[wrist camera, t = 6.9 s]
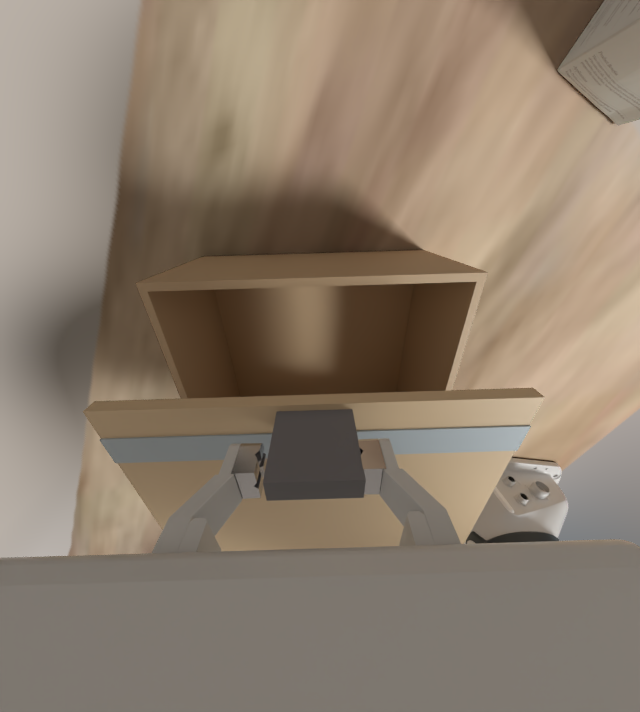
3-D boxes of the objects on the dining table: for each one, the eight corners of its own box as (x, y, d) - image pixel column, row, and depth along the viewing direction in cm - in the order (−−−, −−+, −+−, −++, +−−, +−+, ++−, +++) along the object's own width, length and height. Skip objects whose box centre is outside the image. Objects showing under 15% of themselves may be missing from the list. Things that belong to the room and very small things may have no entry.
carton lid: (533, 387, 14) (629, 465, 9) (447, 555, 24) (476, 628, 19) (94, 401, 14) (-3, 485, 9) (196, 563, 24) (170, 638, 19)
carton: (422, 249, 27) (488, 272, 17) (398, 393, 37) (430, 462, 27) (203, 256, 27) (135, 283, 17) (238, 398, 37) (209, 469, 27)
